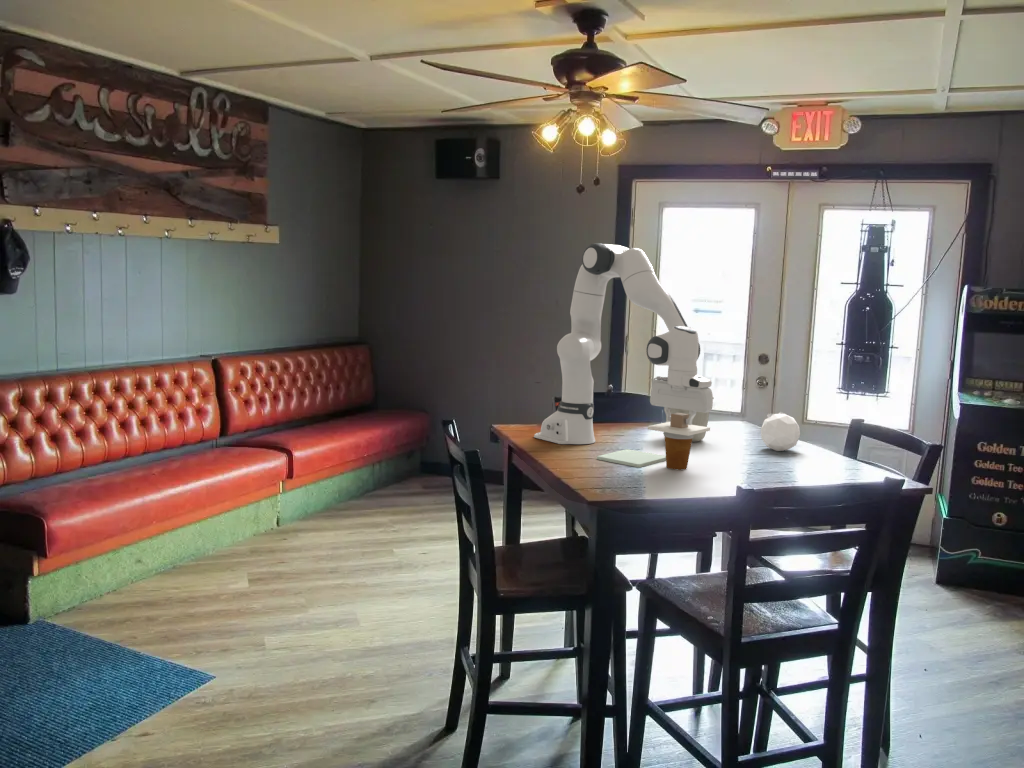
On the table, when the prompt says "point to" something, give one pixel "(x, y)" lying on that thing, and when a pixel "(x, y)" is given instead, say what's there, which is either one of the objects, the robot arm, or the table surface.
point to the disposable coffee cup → (677, 450)
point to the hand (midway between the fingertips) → (679, 423)
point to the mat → (632, 458)
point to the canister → (695, 421)
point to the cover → (679, 426)
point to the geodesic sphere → (780, 432)
